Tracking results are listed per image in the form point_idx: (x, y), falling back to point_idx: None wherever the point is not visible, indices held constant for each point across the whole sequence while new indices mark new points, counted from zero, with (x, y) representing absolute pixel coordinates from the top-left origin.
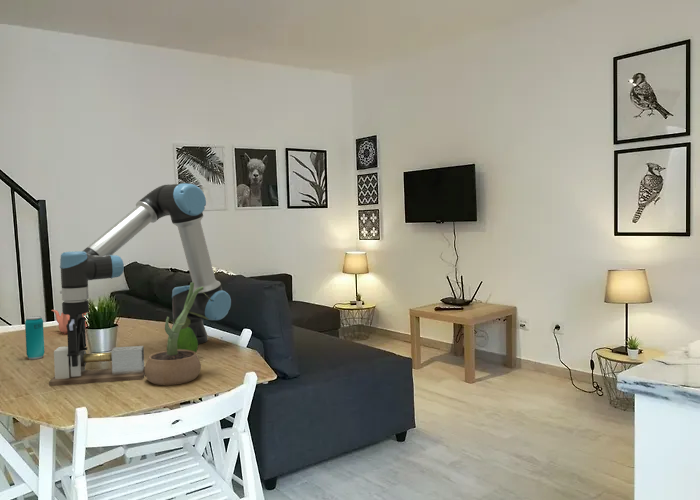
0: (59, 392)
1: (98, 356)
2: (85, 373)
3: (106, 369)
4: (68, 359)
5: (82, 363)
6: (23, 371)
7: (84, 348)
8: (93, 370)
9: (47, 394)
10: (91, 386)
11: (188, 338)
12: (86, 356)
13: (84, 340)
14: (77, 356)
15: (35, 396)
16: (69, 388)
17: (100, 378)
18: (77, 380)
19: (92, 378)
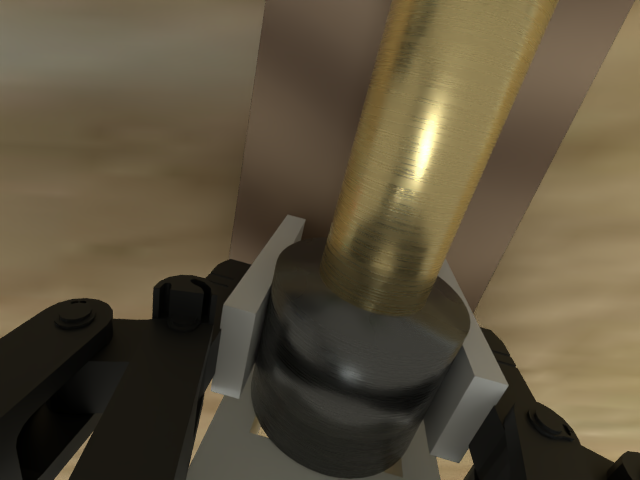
0: (617, 362)
1: (503, 120)
2: (330, 213)
3: (277, 35)
4: (423, 433)
5: (446, 288)
6: (85, 444)
7: (196, 321)
8: (264, 151)
9: (606, 411)
10: (637, 181)
11: None
12: (432, 281)
13: (25, 403)
14: (495, 397)
15: (597, 452)
16: (566, 311)
17: (578, 106)
18: (492, 273)
19: (531, 173)
